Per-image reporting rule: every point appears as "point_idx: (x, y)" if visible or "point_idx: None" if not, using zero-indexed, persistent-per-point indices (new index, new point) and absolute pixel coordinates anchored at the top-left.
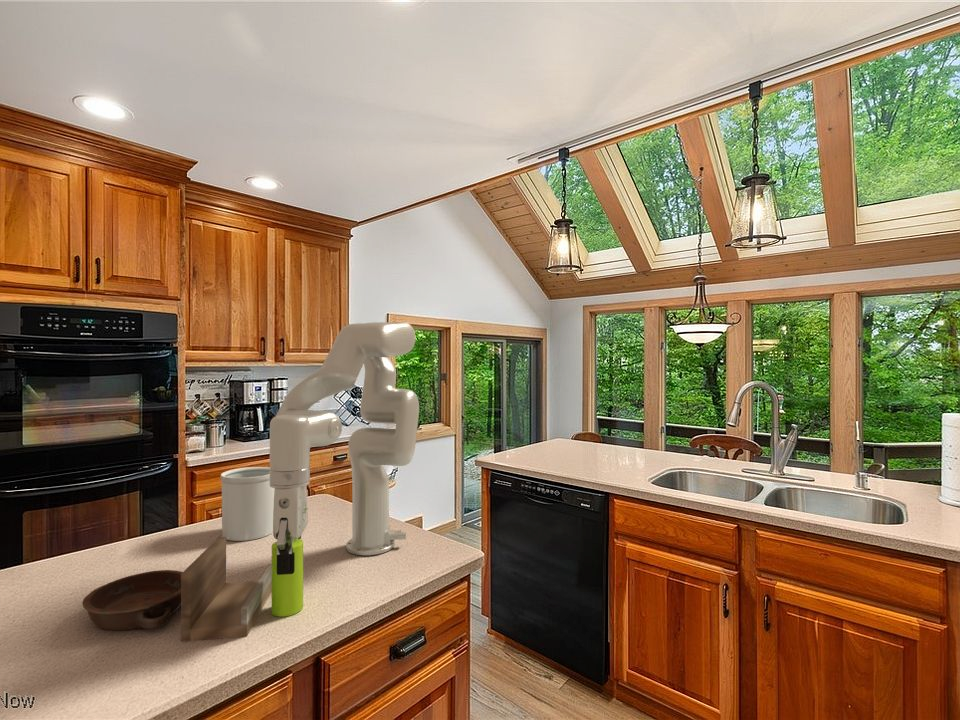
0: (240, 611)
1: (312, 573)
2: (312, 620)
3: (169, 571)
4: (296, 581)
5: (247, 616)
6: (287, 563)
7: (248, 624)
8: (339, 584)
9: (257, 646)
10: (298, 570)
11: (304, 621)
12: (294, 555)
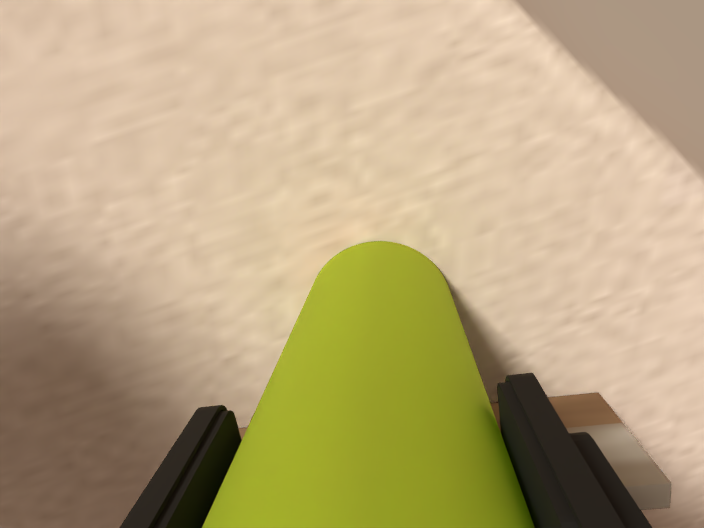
0: None
1: (12, 312)
2: (492, 150)
3: None
4: (442, 323)
5: (632, 448)
6: (621, 492)
7: (595, 418)
8: (99, 125)
9: (690, 323)
10: (430, 352)
11: (498, 189)
12: (581, 497)
